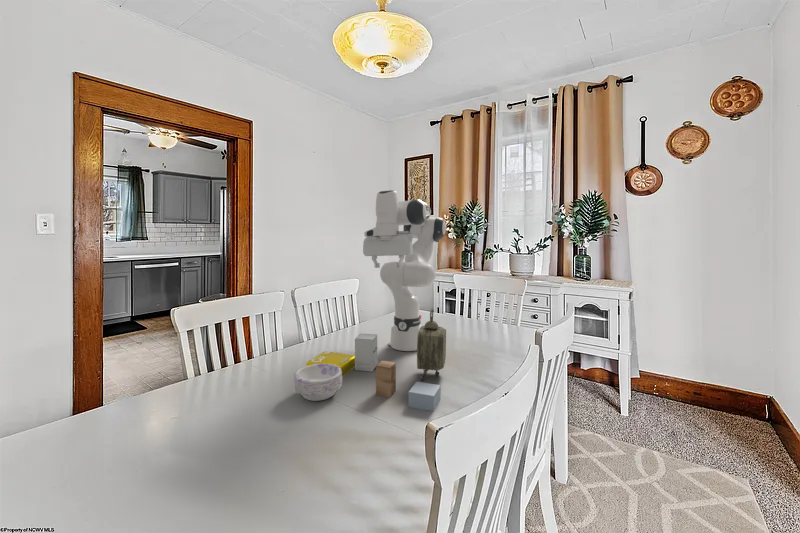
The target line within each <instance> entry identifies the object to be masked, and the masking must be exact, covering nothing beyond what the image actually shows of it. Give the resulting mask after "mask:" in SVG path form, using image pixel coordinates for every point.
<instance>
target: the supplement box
mask: <svg viewBox="0 0 800 533" xmlns="http://www.w3.org/2000/svg"><path fill="white" fill-rule="evenodd" d="M354 355H355V367H354V370H355V371H361V372H373V371H374V370H375V369H376V365H377V364H378V334H377V333H375V334H374V333H359V334H358V335H357V336H356V337H355V338H354Z"/></svg>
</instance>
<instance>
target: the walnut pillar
mask: <svg viewBox="0 0 800 533" xmlns="http://www.w3.org/2000/svg"><path fill="white" fill-rule="evenodd" d="M396 392H397V362H395V361H388V360H381V361H380V362H377V365H376V367H375V396H377V397H383V398H392V396H393V395H394V394H396Z"/></svg>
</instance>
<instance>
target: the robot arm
mask: <svg viewBox="0 0 800 533" xmlns="http://www.w3.org/2000/svg"><path fill="white" fill-rule="evenodd" d="M398 199H399V198H398V192H397V190H391V189H390V190H381V191H379V192H377V194H376V199H375V216H376V221H375V227H372V228H370V229H368V230H365V231H364V237H365V238H364V239H363V243H362V244H363V245H362V253H363V255H364V256H365V257H371V261H373V264H374V268H375V269H376V268H377V269H378V268H379V269H380V272H379V277H380V280H381V281H382V283H383V284H385V285H386V286H387V287H388V289H389V290H390V291H391V294H392V296H393V301H394V317H393V324H394V325H393V326H391V328H390V341H388V342H387V345H388V346H390V347H391V348H392V349H394V350H396V351H404V352H412V351H417V338H418V332H419V329H420V327H421V326H423V325H422V323H421V320H422V314H420V301H419V298H418V297H417V296H416V295H414V294H413V293H411V291H410V290H409V288H410V287H411V288H412V287H413V288H426V287H430V286H432V285H433V284H434V282H435V280H436V277H437V276H436V274H437V273H436V270H435V268H434V266H433V265H432V264H429V261H430V260H431V258H432V255H433V252H434V243H439V242H440V240H442V239H443V238H444V236H445V235H446V232H447V224H446V220H445V219H444V218H442V217H438V216H437V217H435V216H434V217H432V216H431V213H432V210H431V207H430V206H429V204H427V202H424V201H422V200H421V199H418V198H417V199H412V200H404V201H400V200H399V201H398ZM399 226H403V230H401V231H400V230H399V228H400V227H399ZM413 239H417V240H416V241H415V242H413ZM384 256H385V257H388V256H389V257H390V256H391V257H392V256H398V259H399V260H398V261H391V262H385V263H384V264H383V265H382V266H381V263H380V262H378V260H377V259H378V257H384ZM380 267H381V268H380ZM408 287H409V288H408Z"/></svg>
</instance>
